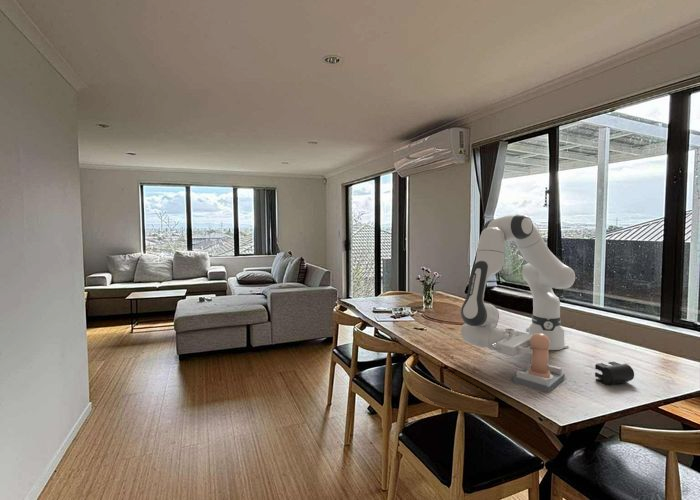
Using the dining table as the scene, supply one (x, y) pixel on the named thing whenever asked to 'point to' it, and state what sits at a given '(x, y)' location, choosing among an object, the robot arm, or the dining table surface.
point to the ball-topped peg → (539, 355)
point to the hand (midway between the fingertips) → (538, 348)
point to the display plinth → (538, 386)
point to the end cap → (614, 373)
